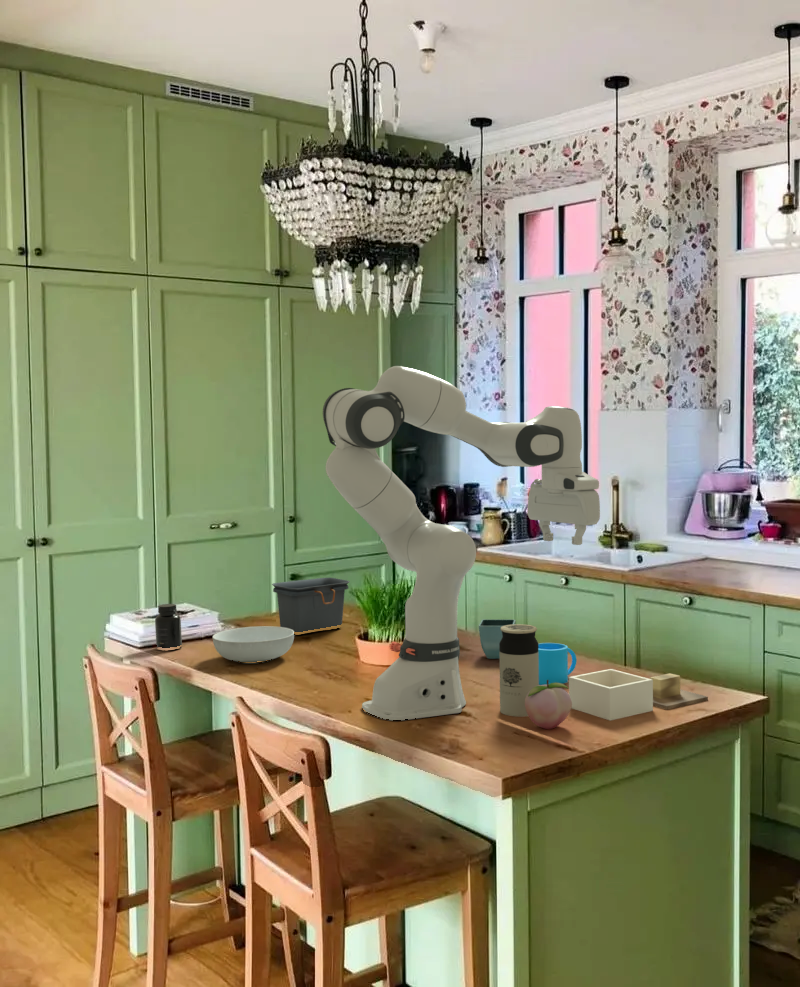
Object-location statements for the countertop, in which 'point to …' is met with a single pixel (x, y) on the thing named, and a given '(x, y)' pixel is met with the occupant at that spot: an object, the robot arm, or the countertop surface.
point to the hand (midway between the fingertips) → (562, 542)
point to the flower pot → (492, 635)
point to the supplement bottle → (168, 627)
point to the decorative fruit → (548, 705)
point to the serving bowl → (253, 643)
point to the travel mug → (517, 667)
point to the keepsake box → (611, 694)
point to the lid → (672, 692)
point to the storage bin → (310, 603)
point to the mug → (554, 663)
